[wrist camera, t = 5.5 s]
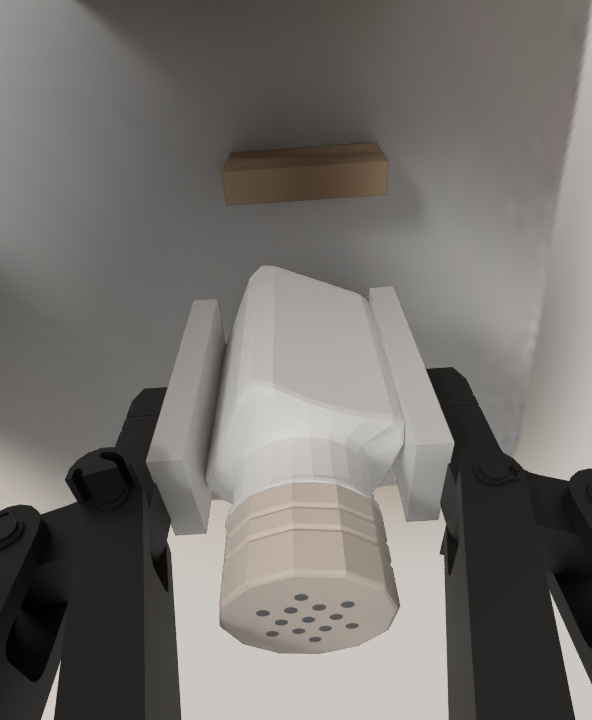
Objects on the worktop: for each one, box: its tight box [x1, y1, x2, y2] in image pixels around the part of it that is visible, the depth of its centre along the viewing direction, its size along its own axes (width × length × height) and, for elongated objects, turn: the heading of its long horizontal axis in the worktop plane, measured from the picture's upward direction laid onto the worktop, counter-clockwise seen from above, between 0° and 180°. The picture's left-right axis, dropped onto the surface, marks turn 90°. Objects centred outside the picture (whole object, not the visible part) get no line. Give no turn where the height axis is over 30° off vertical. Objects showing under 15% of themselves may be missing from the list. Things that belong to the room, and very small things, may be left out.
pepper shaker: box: [205, 265, 405, 654], centre depth 12 cm, size 4×4×10 cm
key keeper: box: [221, 142, 388, 206], centre depth 20 cm, size 6×9×3 cm
